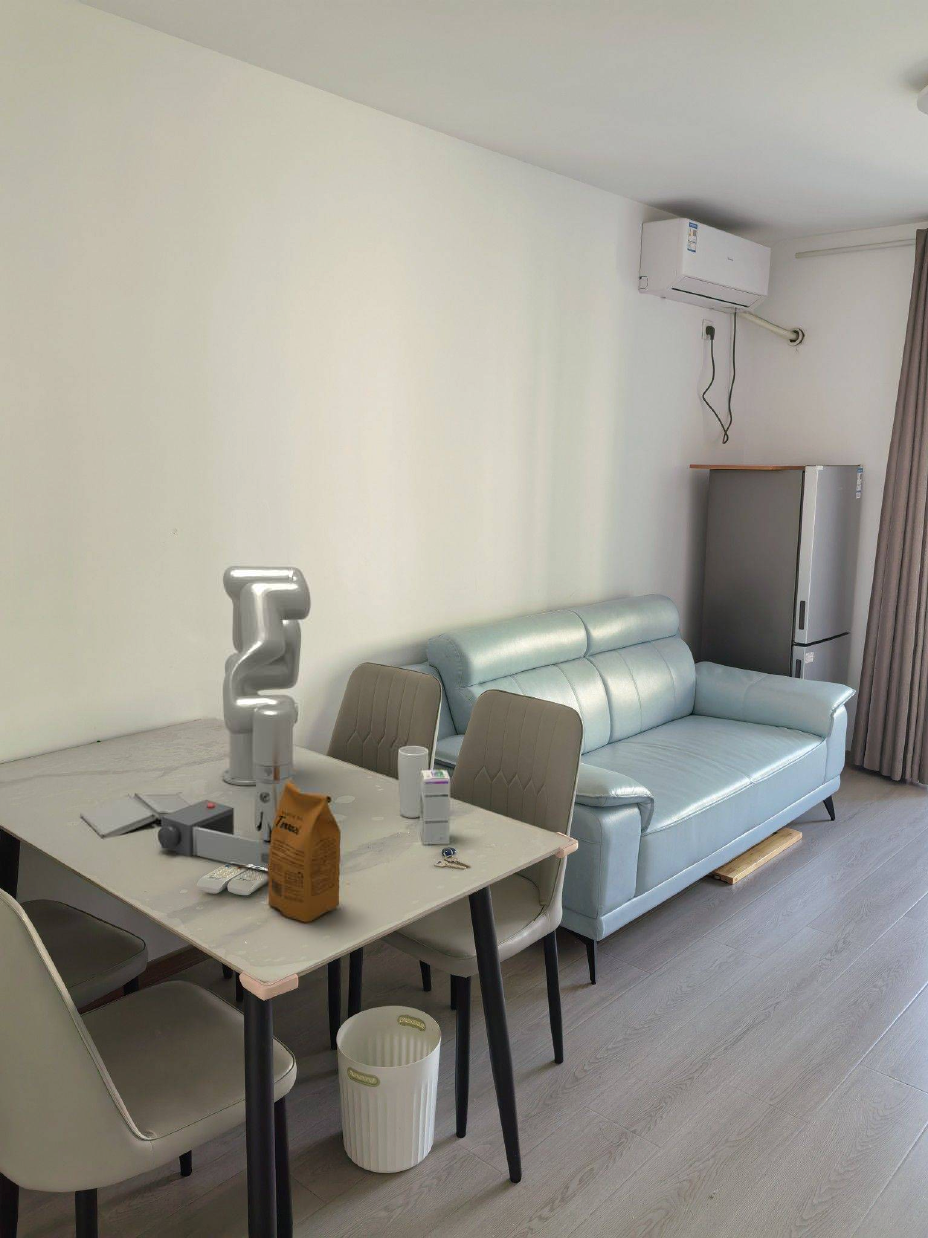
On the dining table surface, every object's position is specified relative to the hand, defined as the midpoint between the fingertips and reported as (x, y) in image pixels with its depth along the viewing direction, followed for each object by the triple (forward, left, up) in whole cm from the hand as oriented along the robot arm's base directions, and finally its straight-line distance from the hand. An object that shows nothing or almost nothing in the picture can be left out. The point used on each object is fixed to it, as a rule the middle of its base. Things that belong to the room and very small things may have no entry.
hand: (272, 859), depth 186 cm
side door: (+4, -6, -1) cm, 7 cm away
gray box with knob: (+1, -20, -1) cm, 20 cm away
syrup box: (-29, +18, -1) cm, 35 cm away
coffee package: (+10, +16, -1) cm, 19 cm away
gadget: (-2, -40, -2) cm, 40 cm away
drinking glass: (-38, +6, -1) cm, 39 cm away
